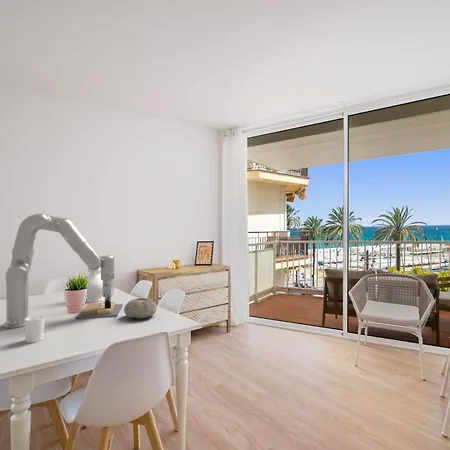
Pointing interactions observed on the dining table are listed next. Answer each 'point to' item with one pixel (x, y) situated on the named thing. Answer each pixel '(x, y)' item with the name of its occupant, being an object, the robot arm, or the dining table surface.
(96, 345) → the dining table surface
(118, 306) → the floor board
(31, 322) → the white cup
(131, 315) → the decorative shell
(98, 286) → the decorative vase
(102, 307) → the board
